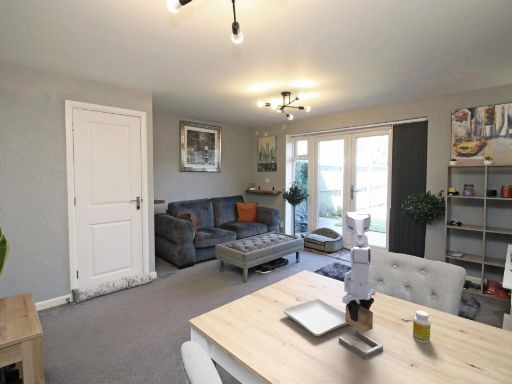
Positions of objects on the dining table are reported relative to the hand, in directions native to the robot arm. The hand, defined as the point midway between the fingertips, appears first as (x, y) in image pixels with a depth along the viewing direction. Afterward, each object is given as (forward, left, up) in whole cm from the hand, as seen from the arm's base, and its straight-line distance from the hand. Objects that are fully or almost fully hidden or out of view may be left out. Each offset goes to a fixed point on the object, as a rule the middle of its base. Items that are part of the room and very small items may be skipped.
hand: (358, 318), depth 97 cm
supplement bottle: (-23, +9, -10) cm, 26 cm away
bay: (0, 0, -9) cm, 9 cm away
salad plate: (+2, -19, -10) cm, 22 cm away
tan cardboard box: (0, 0, -2) cm, 2 cm away
